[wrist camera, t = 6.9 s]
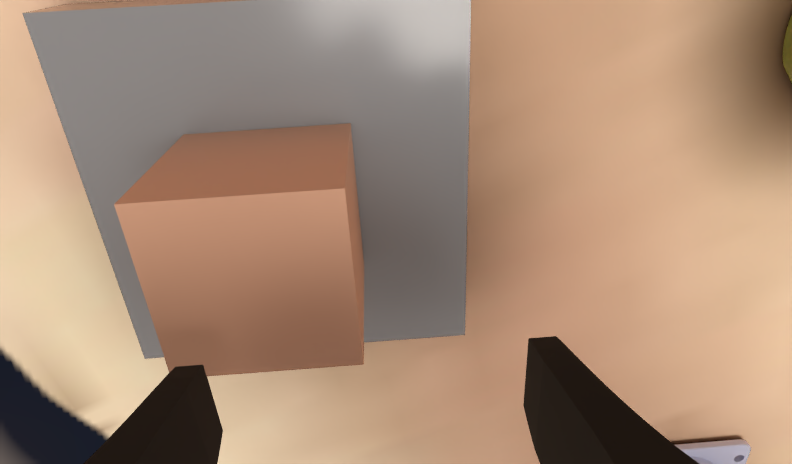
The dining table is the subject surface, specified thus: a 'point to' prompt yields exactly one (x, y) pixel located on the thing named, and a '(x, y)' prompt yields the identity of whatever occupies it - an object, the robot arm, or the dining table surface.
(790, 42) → the plant pot
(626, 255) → the dining table surface
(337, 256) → the terracotta cube
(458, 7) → the slate plinth
